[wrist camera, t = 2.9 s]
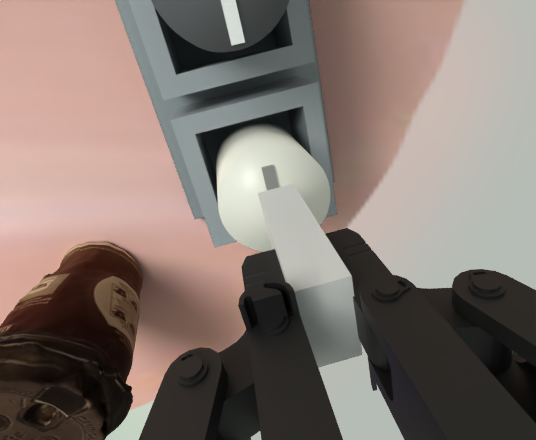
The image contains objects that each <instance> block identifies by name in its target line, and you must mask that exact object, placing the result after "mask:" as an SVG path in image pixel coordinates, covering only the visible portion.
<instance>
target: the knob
mask: <svg viewBox="0 0 536 440" xmlns="http://www.w3.org/2000/svg"><path fill="white" fill-rule="evenodd" d="M216 174H217V196H218V210H219V215H220V218H221V221H222V223H223V225H224V227H225V229H226V230H227V231H228V233H229V234H230V235H231V236H232V237H233V238H234V239H235V240H236V241H238V242H239V243H241V244H242V245H244V246H246V247H249V248H251V249H254V250H258V251H269V250H272V247H271V243H270V239H269V235H268V231H267V227H266V223H265V220H264V216H263V212H262V208H261V204H260V200H259V196H258V193H260V192H263V191H267V190H271V189H275V188H278V187H282V186H286V185H290V184H294V186H295V187H296V189H297V191H298V192H299V194H300V195H301V197H302V198H303V200H304V202H305V203H306V205H307V206H308V208H309V209H310V211H311V213H312V214H313V216H314V217H315V219H316V220H317V222H318V224H319V225H320V226H321V224H322V223H323V221H324V219H325V217H326V215H327V212H328V209H329V205H330V186H329V181H328V179H327V176H326V174H325V172H324V170H323V169H322V167H321V166H320V165H319V163H318V162H317V161H316V160H315V159H314V158H313V157H312V156H311V155H310V154H309V153H308V152H307V151H306V150H305V149H304V148H303V147H302V146H301V145H300V144H299V143H298V142H297V141H296V140H295V139H294V138H293V137H292V136H291V135H290V134H289V133H288V132H287V131H286V130H284V129H283V128H281V127H280V126H278V125H275V124H273V123H269V122H262V121H258V122H250V123H247V124H244V125H241V126H239V127H237V128H236V129H234V130H233V131H232V132H231V133H229V134H228V136H227V137H226V138H225V139H224V141H223V142H222V144H221V146H220V148H219V150H218V154H217V159H216Z"/></svg>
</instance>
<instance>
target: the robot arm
mask: <svg viewBox="0 0 536 440" xmlns="http://www.w3.org/2000/svg"><path fill="white" fill-rule="evenodd" d="M258 196H259V200H260V204H261V208H262V212H263V216H264V220H265V223H266V227H267V231H268V235H269V239H270V243H271V247H272V250H269V251H265V252H262V253H258V254H255V255H251V256H247V257H246V259H245V261H244V263H243V265H242V274H243V281H244V286H245V287H244V288H245V291H244V293H243V294H242V295H241V297H240V299H239V305H238V306H239V309H240V312H241V315H242V317H243V320H244V323H245V326H246V329H247V330H246V331H245V333H244V334H243V336H242V337H241V338H240V339H239V340H238V341H237V342H236V343H234V344H233V345H231V346H230V347H228V348H227V349H225V350H223V351H221V352H220V353H217V352H216V351H214V350H212V349H210V348H197V349H193V350H189V351H188V352H186V353H184V354H182V355H180V356H179V357H178V358H177V359H176V360H175V361H174V362H173V363H172V364H171V365H170V367H169V368H168V370H167V372H166V373H165V375H164V378H163V380H162V383H161V385H160V388H159V390H158V393H157V395H156V398H155V400H154V403H153V406H152V408H151V410H150V413H149V415H148V418H147V420H146V423H145V426H144V428H143V430H142V433H141V436H140V438H139V440H251V436H253V435H254V434H256V433H257V432H258V431H261V438H262V440H343V439H342V436H341V433H340V430H339V427H338V424H337V421H336V418H335V415H334V412H333V409H332V407H331V404H330V401H329V398H328V395H327V392H326V389H325V386H324V384H323V381H322V378H321V375H320V372H319V369H318V367H321V366H325V365H328V364H332V363H335V362H339V361H342V360H346V359H348V358H352V357H356V356H359V355H362V348H361V343H362V345H363V347H364V349H365V351H366V353H367V355H368V362H369V369H370V378H371V384H372V388H373V391H374V390H377V385H378V387H379V389H380V391H381V393H382V395H383V397H384V399H385V401H386V403H387V405H388V407H389V409H390V411H391V413H392V415H393V417H394V419H395V421H396V423H397V425H398V427H399V429H400V431H401V433H402V435H403V437H404V439H405V440H536V290H534V289H532V288H530V287H528V286H526V285H524V284H522V283H520V282H518V281H517V280H514V279H513V278H510V277H509V276H507V275H504V274H501V273H499V272H496V271H490V270H483V269H478V270H469V271H465V272H462V273H460V274H459V275H458V276H456V277H455V278H454V281H453V285H452V288H437V289H422V288H416V287H415V285H414V284H412V283H411V282H410V281H408V280H407V279H405V278H402V277H399V276H395V275H392V274H391V273H390V271H389V270H388V269H387V268H386V266H385V265H384V264H383V263H382V261H381V260H380V259H379V258H378V257H377V255H376V254H375V253H374V252H373V251H372V250H371V248H370V247H369V246H368V244H366V243H365V241H364V240H363V238H362V237H361V236H360V235H359V234H358V233H356V232H354V231H352V230H350V229H348V228H346V229H342V230H338V231H335V232H331V233H327V234H325V233H324V231H323V230H322V228H321V227H320V225H319V224H318V222H317V220H316V219H315V217H314V216H313V214H312V213H311V211H310V209H309V208H308V206H307V205H306V203H305V202H304V200H303V198H302V197H301V195H300V194H299V192H298V191H297V189H296V187H295V186H294V184H290V185H286V186H282V187H278V188H275V189H271V190H267V191H263V192H260V193H258ZM513 351H514V352H513ZM376 383H377V384H376Z"/></svg>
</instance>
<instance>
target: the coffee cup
mask: <svg viewBox="0 0 536 440" xmlns="http://www.w3.org/2000/svg"><path fill="white" fill-rule="evenodd" d="M142 282H143V276H142V273H141V270H140V268H139V266H138V264H137V263H136V261H135V260H134V259H133V258H132V257H131V256H130V255H129V254H128V253H127V252H126V251H124V250H123V249H120V248H118V247H116V246H114V245H112V244H111V243H108V242H97V243H94V242H87V243H85V244H83V245H82V244H80V245H77V246H75V247H74V248H72V249H70V250H69V251H68V252H67V253H66V255H65V256H64V258H63V260H62V262H61V265H60V267H59V269H58V270H57V271H56V272H54V273H53V274H48V275H46V276H45V277H44V278H43V279H42V280H41V281H40V283H39V284H37V285H36V286H35V287H34V288H33V289H32V290H31V291H30V292H29V293H28V294H27V295H26V296H24V297H23V298H22V299H20V301H19V302H18V304H17V305H16V306H15V308H14V310H13V311H11V312H10V314H9V315H8V316H7V317H6V319H5V320H4V322H3V323H2V325H1V326H0V440H105V438H106V436H107V435H109V434H110V433H111V432H112V431H114V430H115V429H116V428H117V427H118V426H119V425H120V424H121V423H122V422H123V420H124V419H125V418H126V416H127V414H128V412H129V410H130V407H131V404H132V402H133V399H132V398H133V396H132V393H131V390H132V387H131V386H129V385H127V384H126V380H127V377H128V375H129V372H130V369H131V366H132V360H133V352H134V347H135V340H136V334H137V325H138V319H139V311H140V290H141V288H142Z"/></svg>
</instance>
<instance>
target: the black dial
mask: <svg viewBox="0 0 536 440" xmlns="http://www.w3.org/2000/svg"><path fill="white" fill-rule="evenodd" d="M151 1H152V3H153V5H154V7H155V8H156V10H157V11H158V13H159V14H160V16H161V17H162V18H163V20H164V21H165V22H166V23H167V24H168V26H169V27H170V28H171V29H173V30H174V31H175V32H176V33H177V34H178V35H179V36H181V37H182V38H183V39H185V40H187V41H188V42H190V43H192V44H194V45H195V46H197V47H199V48H201V49H204V50H207V51H210V52H218V53H222V52H231V51H237V50H241V49H244V48H247V47H250V46H252V45H253V44H255V43H257V42H259V41H260V40H262V39H263V38H264V37H265V36H267V35H268V34H269V33H270V32H271V31H272V30H273V28H274V27H275V26H276V25H277V24H278V22H279V21H280V19H281V17H282V16H283V14H284V12H285V10H286V8H287V6H288V3H289V0H151Z"/></svg>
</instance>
